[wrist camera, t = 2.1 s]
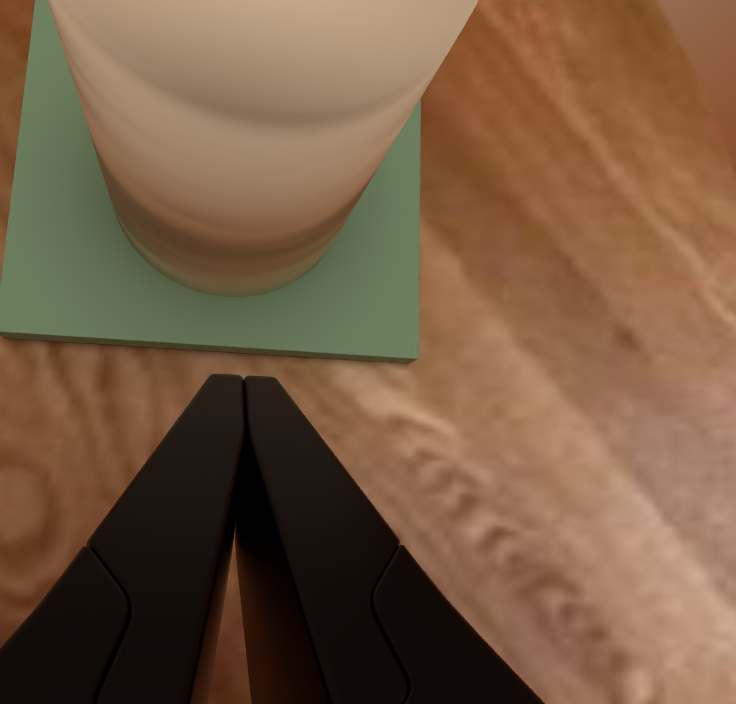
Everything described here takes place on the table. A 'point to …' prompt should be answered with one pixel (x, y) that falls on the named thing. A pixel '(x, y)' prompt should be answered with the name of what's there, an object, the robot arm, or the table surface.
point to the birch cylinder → (246, 121)
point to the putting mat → (168, 298)
